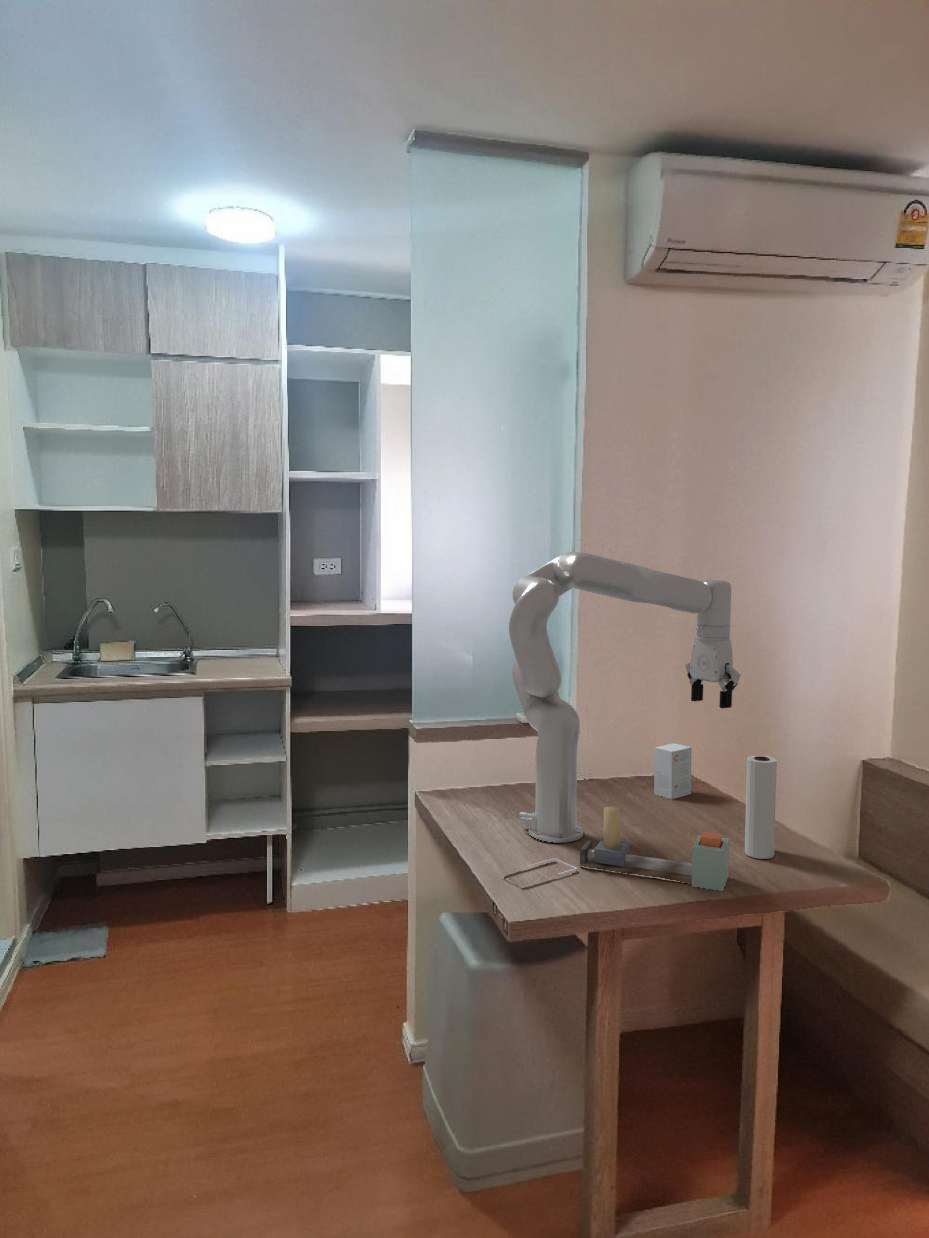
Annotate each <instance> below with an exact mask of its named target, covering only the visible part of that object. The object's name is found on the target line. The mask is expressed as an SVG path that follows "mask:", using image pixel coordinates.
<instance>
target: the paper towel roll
mask: <svg viewBox="0 0 929 1238" xmlns="http://www.w3.org/2000/svg"><path fill="white" fill-rule="evenodd" d="M777 762H778V761H777V759H776V758H775V757H773V756H771V755H769V754H766V756H765V755H751V756H747V758H746V778H745V779H746V786H745V788H746V789H745V824H744V825H745V828H744V853H745V855H746V856H748V857H750V858H753V859H758V860H759V859H761V860H765V859H766V860H767V859H771V858H773V857H774V856H775V835H776V834H775V833H776V832H775V831H776V807H777V806H776V805H777V804H776V801H777V800H776V798H777V764H778V763H777Z"/></svg>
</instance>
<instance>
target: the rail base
mask: <svg viewBox="0 0 929 1238" xmlns="http://www.w3.org/2000/svg"><path fill="white" fill-rule="evenodd" d="M594 849H595V848H594ZM594 849H593V840H589V839H588V840H587V841H586V842H585V843H584V844H583V845H582V846H581V847H580V849H579V867H580V866H584V867H589V868H597V869H603V870H609V871H615V872H621V873H627V874H638V875H644V876H652V877H660V878H665V879H670V880H676V881H680V882H684V883H689V884H688V885H690V884H692V862H685V861H678V860H673V859H665V858H657V857H650V856H642V855H637V854H635V855H634V854H629V853H628V854H626V855H625V866H624V867H623V866H616V865H609V864H602V863H596V862H595V855H594Z"/></svg>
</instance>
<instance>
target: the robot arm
mask: <svg viewBox="0 0 929 1238" xmlns="http://www.w3.org/2000/svg"><path fill="white" fill-rule="evenodd" d="M571 589H576V590H580V591H584V592H589V593H593V594H598V595H601V596H606V597H609V598H614V599H619V600H623V601H627V602H632V603H640V604H641V603H642V604H650V605H656V606H661V607H665V608H670V609H672V610H674V611H678V612H685V613H690V614H696V615H697V616H696V617H697V618H696V619H697V620H696V624H697V625H696V628H695V629H696V636H694V639H693V641H692V642H693V643H692V647H691V653H690V662H688V663H687V664H685V670H686V672H687V677H688V679H689V684H690V685H691V686H690V687H691V690H690V691H691V694H690V700H691V702H701V701H703V700H704V684H703V681H706V682H710V683H718V684H719V687H720V689H721V690H720V691H719V708H720V709H729V708H732V705H733V691H735V688H736V687H737V686H738V684H739V683H738V682H739V680H740V678H741V673H739V672H738V670H736V669H735V668H734V667H733V666H734V665H733V664H734V662H733V661H734V657H733V647H732V640H731V639H730V638H731V614H732V613H731V611H732V609H731V608H732V584H731V583H730V582H729V581H727V580H720V579H719V580H717V579H716V580H715V579H712V580H711V579H710V580H709V579H708V580H707V579H706V580H705V579H704V580H699V579H698V580H697V579H693V578H689V577H685V576H681V575H676V574H672V573H668V572H665V571H659V570H656V569H652V568H650V567H649V568H648V567H645V566H643V565H637V564H634V563H630V562H625V561H622V560H618V559H612V558H608V557H604V556H600V555H596V554H592V553H590V552H589V553H588V552H581V551H568V552H565V553H562V554H561V555H558V556H557V557H555V558H554V559H552V560H550V561H549V562H546V563H545V564H543V565H542V566H540V567H537V568H536V569H535V570H533V571H531V572H530V573H528V574H526V575H524V576H523V577H521V578H519V579H518V581H517V582H516V583H515V585H514V587H513V590H512V600H513V603H514V606H513V608H512V611H511V613H510V616H509V622H508V634H509V639H510V643H511V646H512V647H511V648H512V649H513V653H514V656H515V657H514V658H515V661H514V663H513V665H512V669H511V673H512V676H511V677H512V680H513V684H514V686H515V689H516V692H517V696H518V698H519V702H520V705H521V707H522V710H523V713H524V716H525V718H526V720H527V722H528V724H529V725H530V727H531V728H532V729H533V730H534V731H536V732H537V740H536V745H535V746H536V747H535V758H534V759H535V760H534V761H535V764H534V765H535V767H534V768H535V807H534V808H535V812H533V811H532V813H530V812H529V813H528V812H527V811H526V812H525V811H520V812H519V813H518V819H519V820H520V823H522V824H529V825H530V826H529V827H528V835H529V836H530V835H531V836H532V837H534V838H536V839H535V840H537V839H539V840H538V841H540V840H542V841H541V842H544V841H547V842H546V843H551V842H553V843H554V844H565V843H572V842H575V841H578V840H580V839H581V838H582V837H583V836H584V830H583V828H582V827H581V826H579V825H577V817H578V816H577V792H578V789H577V788H578V787H577V786H578V785H577V784H578V780H577V779H578V778H577V777H578V774H577V773H578V771H577V770H578V767H577V766H578V745H579V739H580V732H581V723H580V722H581V721H580V717H579V714H578V712H577V711H576V709H575V708H574V707H573V706H572V704H570V703H568V702H567V701H566V700H564V699H562V698H561V696H560V694H559V690H560V687H561V685H562V673H561V670H560V667H559V665H558V662H557V659H556V656H555V653H554V651H553V648H552V644H551V642H550V637H549V634H548V621H549V618H550V616H551V615H552V613H553V612H554V610H555V609H556V607H557V606H558V603H559V600H560V597H561V596H562V595H564V594H565V593H568V592H569V591H570V590H571ZM531 836H530V837H531ZM532 837H531V838H532ZM534 838H533V839H534Z"/></svg>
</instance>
